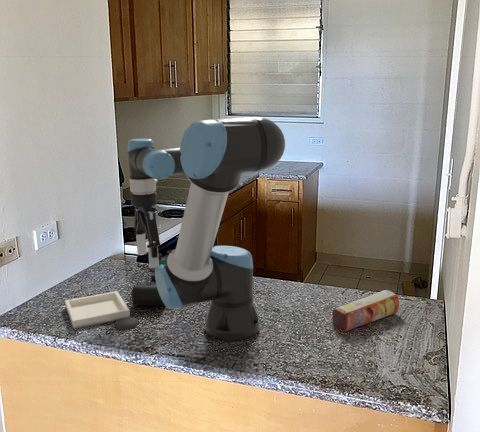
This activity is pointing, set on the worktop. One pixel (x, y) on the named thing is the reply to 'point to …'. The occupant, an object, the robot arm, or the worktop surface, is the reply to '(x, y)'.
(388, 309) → the snack package
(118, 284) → the worktop surface
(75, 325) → the mount tray
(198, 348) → the worktop surface
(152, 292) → the end cap
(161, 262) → the binoculars
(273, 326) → the worktop surface
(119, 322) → the lens cap
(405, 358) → the worktop surface
